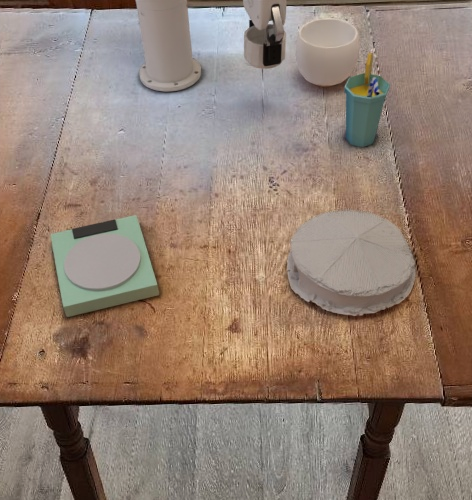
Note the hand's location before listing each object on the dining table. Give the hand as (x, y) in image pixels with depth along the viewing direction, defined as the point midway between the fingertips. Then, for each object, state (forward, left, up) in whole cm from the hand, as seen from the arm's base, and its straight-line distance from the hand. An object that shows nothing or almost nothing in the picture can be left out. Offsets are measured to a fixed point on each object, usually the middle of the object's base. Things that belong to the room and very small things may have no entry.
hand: (264, 51), depth 121 cm
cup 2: (+15, +13, -12) cm, 24 cm away
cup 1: (-6, +14, -12) cm, 19 cm away
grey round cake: (+44, -1, -12) cm, 46 cm away
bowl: (0, 0, -1) cm, 1 cm away
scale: (+32, -37, -12) cm, 50 cm away
